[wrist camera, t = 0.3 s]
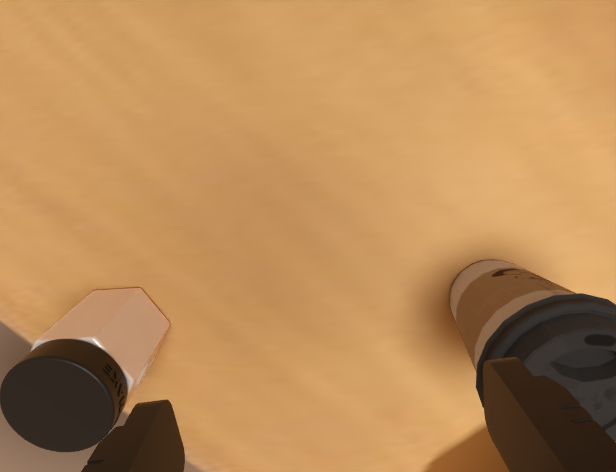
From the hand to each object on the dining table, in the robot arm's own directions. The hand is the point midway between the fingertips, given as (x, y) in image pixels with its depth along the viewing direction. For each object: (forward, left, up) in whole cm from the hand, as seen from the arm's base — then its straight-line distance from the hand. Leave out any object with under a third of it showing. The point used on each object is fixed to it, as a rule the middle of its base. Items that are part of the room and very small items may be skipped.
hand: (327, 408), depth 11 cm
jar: (+11, -19, -29) cm, 36 cm away
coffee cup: (+11, +16, -29) cm, 35 cm away
